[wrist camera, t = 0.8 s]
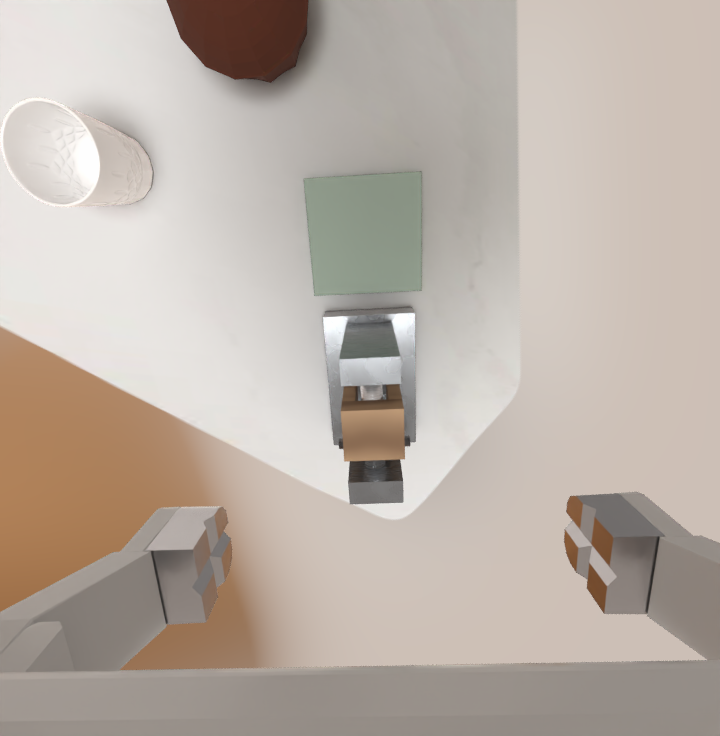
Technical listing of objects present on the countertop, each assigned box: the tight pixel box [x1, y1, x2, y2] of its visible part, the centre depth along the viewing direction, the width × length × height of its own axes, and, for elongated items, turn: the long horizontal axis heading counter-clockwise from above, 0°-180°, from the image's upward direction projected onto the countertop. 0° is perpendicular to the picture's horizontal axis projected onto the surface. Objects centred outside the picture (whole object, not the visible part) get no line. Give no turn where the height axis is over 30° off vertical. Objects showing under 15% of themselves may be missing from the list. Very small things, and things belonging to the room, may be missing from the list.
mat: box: [304, 171, 422, 296], centre depth 43 cm, size 12×12×1 cm
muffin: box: [167, 0, 308, 83], centre depth 33 cm, size 12×11×10 cm
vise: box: [323, 307, 416, 504], centre depth 42 cm, size 16×10×15 cm, turn 3°
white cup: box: [0, 97, 153, 207], centre depth 37 cm, size 8×8×10 cm
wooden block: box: [341, 384, 405, 461], centre depth 39 cm, size 5×5×8 cm
